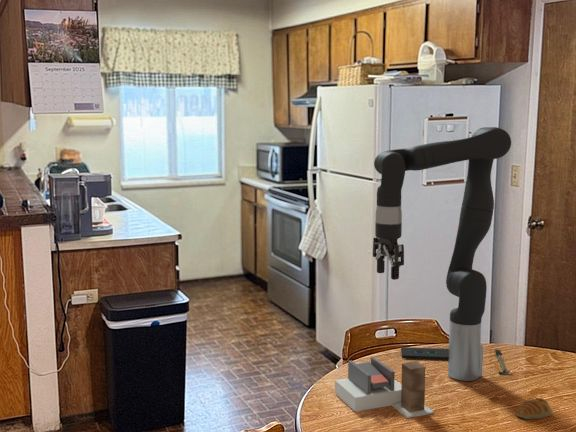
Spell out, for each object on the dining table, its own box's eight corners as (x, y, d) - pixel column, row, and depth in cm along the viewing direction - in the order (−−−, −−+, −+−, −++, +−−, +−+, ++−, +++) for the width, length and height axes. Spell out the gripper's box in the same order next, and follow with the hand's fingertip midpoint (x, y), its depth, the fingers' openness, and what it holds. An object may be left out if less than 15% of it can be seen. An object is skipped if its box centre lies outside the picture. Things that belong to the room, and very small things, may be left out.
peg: (415, 403, 189) (416, 361, 187) (424, 409, 185) (425, 366, 183) (401, 405, 188) (401, 363, 186) (409, 412, 183) (410, 369, 182)
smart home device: (400, 346, 232) (461, 348, 230) (400, 351, 233) (461, 353, 230) (402, 355, 224) (465, 357, 222) (402, 360, 224) (464, 362, 222)
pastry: (529, 424, 178) (530, 410, 177) (508, 414, 184) (509, 401, 183) (553, 415, 183) (554, 402, 182) (532, 406, 188) (533, 393, 188)
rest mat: (417, 401, 191) (417, 400, 191) (433, 413, 184) (433, 411, 184) (392, 406, 188) (392, 404, 188) (407, 418, 181) (407, 416, 181)
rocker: (368, 365, 199) (369, 361, 199) (388, 386, 189) (389, 381, 188) (353, 368, 198) (353, 363, 197) (372, 388, 187) (372, 384, 186)
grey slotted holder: (384, 385, 203) (385, 354, 201) (407, 402, 191) (408, 370, 189) (334, 393, 197) (335, 361, 196) (355, 411, 185) (355, 378, 184)
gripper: (412, 224, 194) (411, 280, 196) (387, 216, 207) (387, 269, 209) (389, 225, 191) (388, 282, 193) (365, 218, 204) (364, 271, 207)
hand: (387, 276), depth 201 cm, fingers open, 8 cm apart
